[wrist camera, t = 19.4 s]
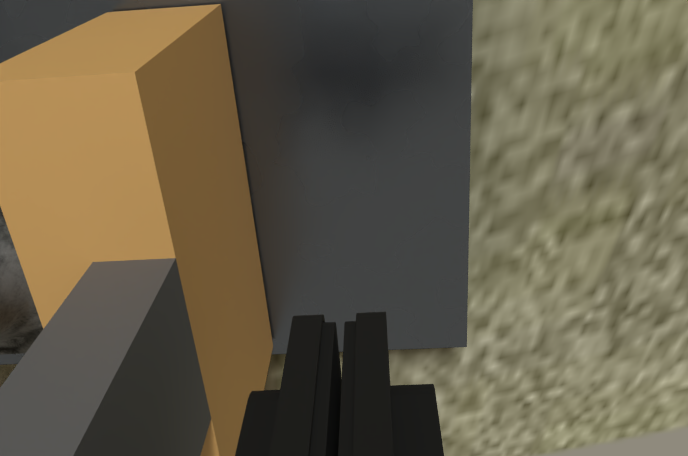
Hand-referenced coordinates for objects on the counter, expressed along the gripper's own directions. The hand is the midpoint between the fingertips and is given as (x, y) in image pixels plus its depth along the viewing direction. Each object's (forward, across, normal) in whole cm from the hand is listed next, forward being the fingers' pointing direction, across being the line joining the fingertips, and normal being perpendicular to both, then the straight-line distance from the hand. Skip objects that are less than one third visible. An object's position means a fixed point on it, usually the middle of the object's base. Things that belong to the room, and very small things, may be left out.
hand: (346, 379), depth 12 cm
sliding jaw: (+8, +5, 0) cm, 9 cm away
